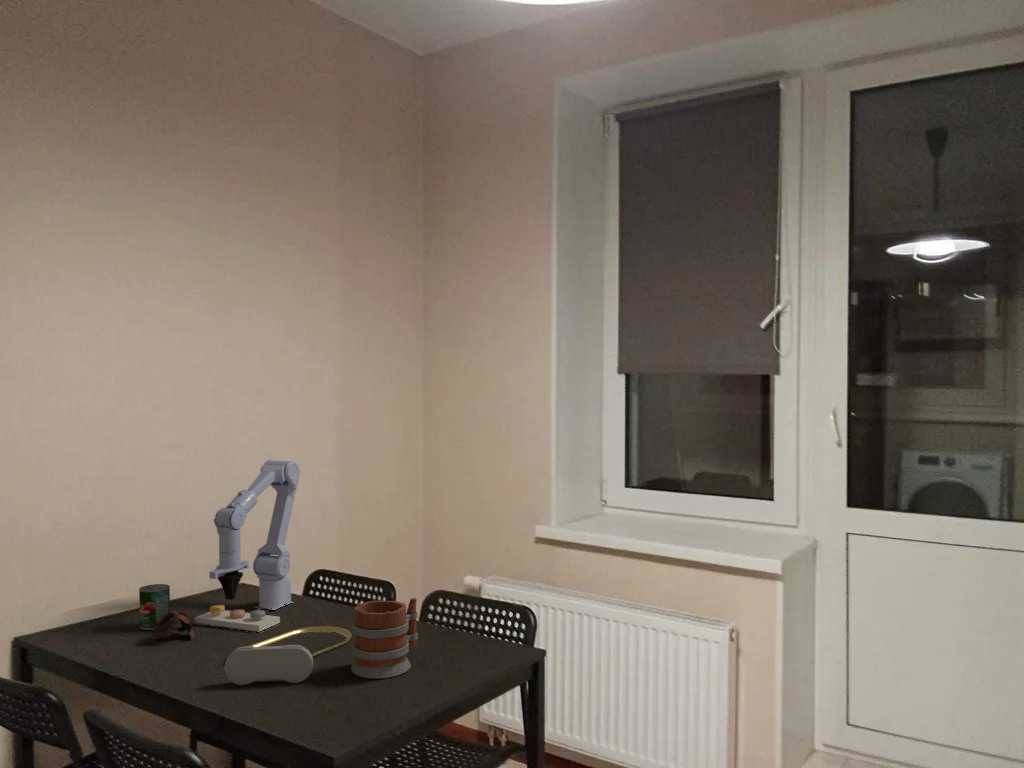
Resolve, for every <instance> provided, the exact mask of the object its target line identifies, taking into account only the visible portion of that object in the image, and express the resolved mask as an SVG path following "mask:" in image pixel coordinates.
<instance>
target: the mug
mask: <svg viewBox="0 0 1024 768" xmlns="http://www.w3.org/2000/svg"><path fill="white" fill-rule="evenodd" d="M417 600H418V599H417V598H415V597H411V598H410V599H409V603H408V607H407V605H406V603H404V602H400V601H397V600H396V601H395V600H371V601H367V602H363V603H357V605H356V606H355V608H354V621H352V633H353V634H354V642H353V644H352V654H353V656H354V657H355V658H354V661H353V663H352V664H351V667H350V671H351V672H352V673H353V674H354V676H356V677H360V678H362V679H363V678H364V679H367V680H368V679H369V680H370V679H371V680H385V679H390V678H391V677H392V678H394V677H398V676H401V674H402V675H404V674H405V673H407V672H408V671H409V670H410V668H411V666H412V665H411V662H410V660H409V659H408V657H407V654H408V653H409V651H410V649H414V648H415V647H416V644H417V641H418V639H419V638H418V637H419V636H418V634H419V633H418V632H417V619H418V617H419V616H418V615H419V613H418V612H417V602H418V601H417ZM403 673H404V674H403Z"/></svg>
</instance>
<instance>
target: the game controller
mask: <svg viewBox="0 0 1024 768" xmlns="http://www.w3.org/2000/svg"><path fill="white" fill-rule="evenodd" d="M247 646H248V647H247ZM247 646H240V647H237V648H235V649H234V650H233V651H232V652H231V653H229V655H228V657H227V659H226V660H225V663H224V674H225V676H226V677H227V678H226V679H228V680H229V681H230V682H232V683H233V684H235V685H237V686H245V685H249V684H251V683H253V682H255V681H265V680H266V681H272V680H283V681H285V682H287V683H290V684H297V683H301V682H304V680H306V679H307V678H308V677H309V676H310V674H311V673H312V670H313V668H314V657H312V655H311V654H312V653H311V652H310V651H309V649H308V648H306V647H304V646H303V645H299V644H285V645H269V646H264V647H254V646H249V645H247Z"/></svg>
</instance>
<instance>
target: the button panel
mask: <svg viewBox="0 0 1024 768" xmlns="http://www.w3.org/2000/svg"><path fill="white" fill-rule="evenodd" d="M230 611H231V610H226V609H225V611H224V612H220V613H210V611H208V612H206V613H203V614H201V615H198V616H194V623H195V622H198V623H205V624H211V625H218V626H225V627H231V628H232V627H233V628H239V629H245V630H250V631H257V632H260V631H262V630H264V629H267V628H269V627H271V626H274V625H276V624H278V623H280V624H281V617H280V616H276V615H267V614H265V616H264V617H261V618H251V617H250V612H245V616H243V617H239V618H232V617H230ZM278 625H279V624H278ZM276 626H277V625H276ZM274 627H275V626H274ZM269 629H270V628H269ZM267 630H268V629H267ZM262 632H263V631H262ZM260 633H261V632H260Z"/></svg>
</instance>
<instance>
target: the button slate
mask: <svg viewBox="0 0 1024 768" xmlns="http://www.w3.org/2000/svg"><path fill="white" fill-rule="evenodd" d="M249 613H250V617H251V618H261V617H264V616H265V615H266V610H261V609H253V610H251V611H250V612H249Z"/></svg>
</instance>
